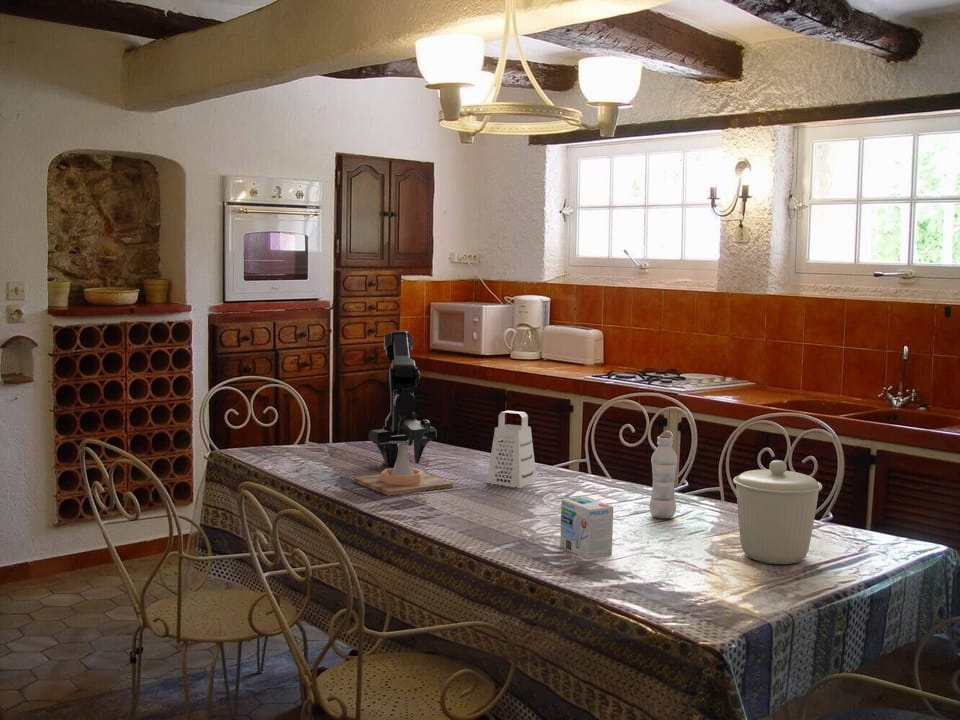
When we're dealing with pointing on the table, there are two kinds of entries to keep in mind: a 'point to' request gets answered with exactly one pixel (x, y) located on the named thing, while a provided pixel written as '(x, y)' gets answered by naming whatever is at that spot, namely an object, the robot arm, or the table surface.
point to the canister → (776, 513)
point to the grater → (512, 453)
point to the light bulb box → (586, 527)
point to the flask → (402, 461)
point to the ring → (402, 477)
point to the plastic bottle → (663, 479)
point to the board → (394, 489)
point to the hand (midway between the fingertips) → (402, 464)
